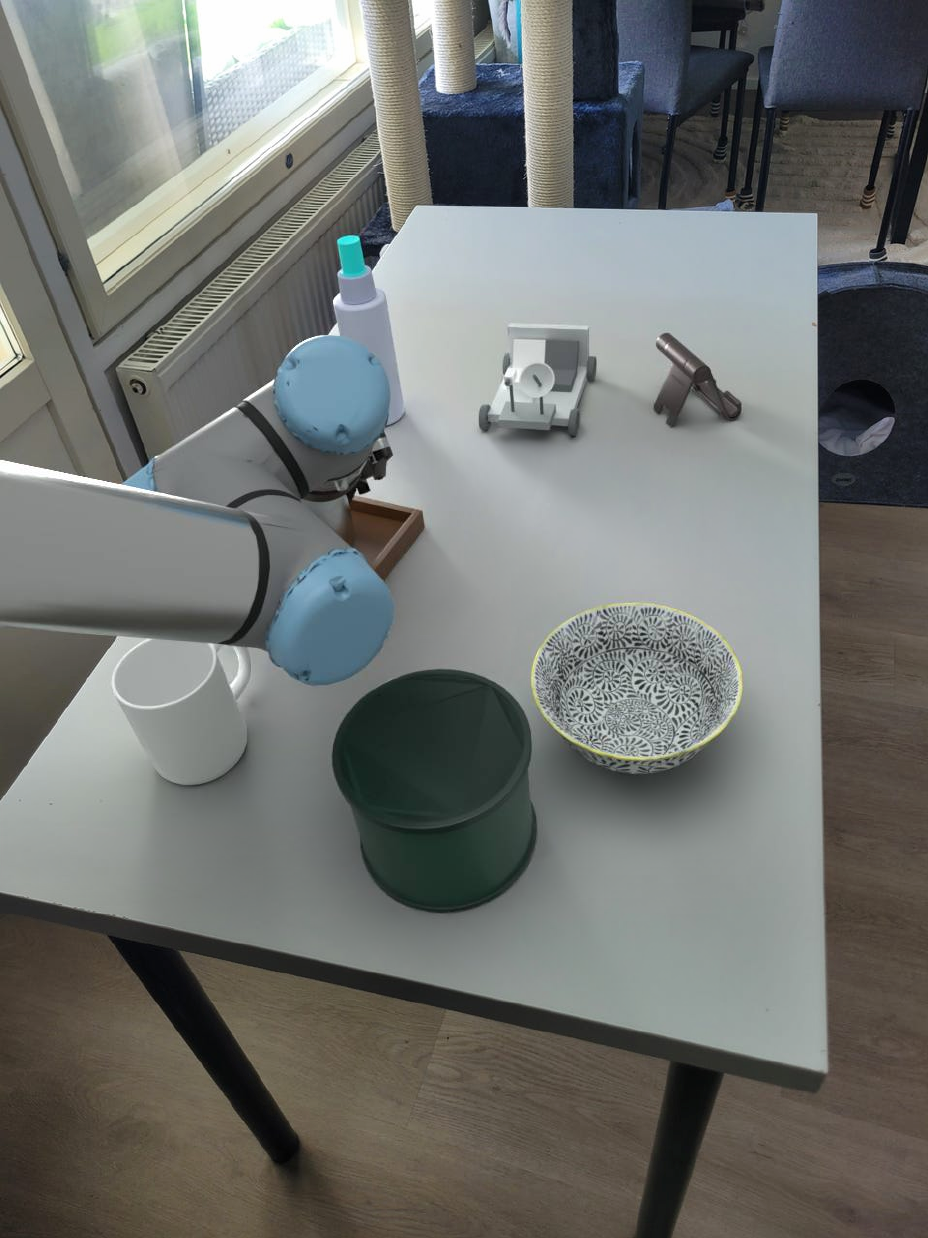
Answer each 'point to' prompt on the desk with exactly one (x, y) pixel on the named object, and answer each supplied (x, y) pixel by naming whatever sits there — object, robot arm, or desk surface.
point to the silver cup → (335, 517)
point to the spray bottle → (366, 316)
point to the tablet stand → (690, 382)
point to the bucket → (439, 788)
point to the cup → (183, 707)
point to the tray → (384, 532)
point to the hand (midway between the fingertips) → (306, 504)
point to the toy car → (542, 378)
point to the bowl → (636, 685)
